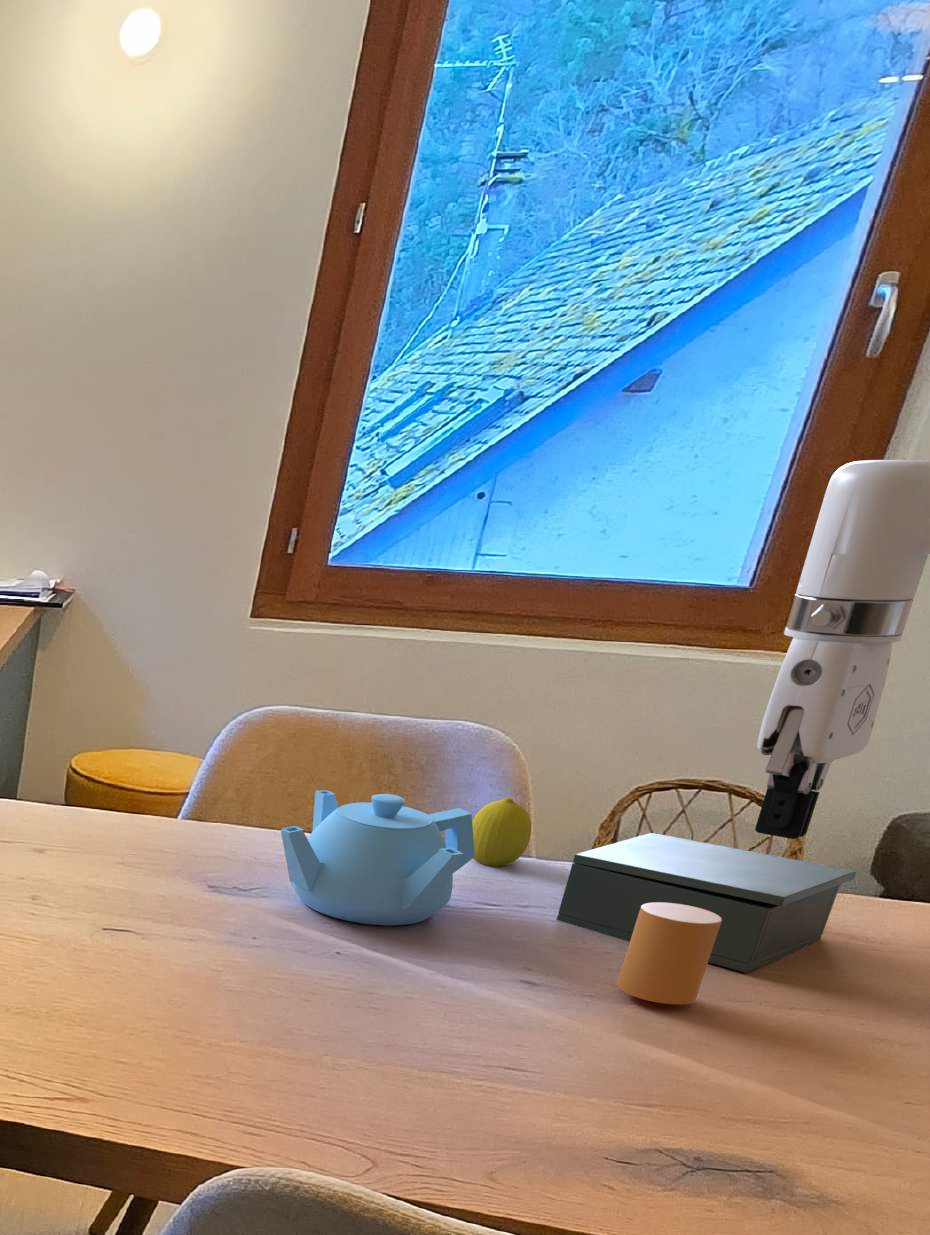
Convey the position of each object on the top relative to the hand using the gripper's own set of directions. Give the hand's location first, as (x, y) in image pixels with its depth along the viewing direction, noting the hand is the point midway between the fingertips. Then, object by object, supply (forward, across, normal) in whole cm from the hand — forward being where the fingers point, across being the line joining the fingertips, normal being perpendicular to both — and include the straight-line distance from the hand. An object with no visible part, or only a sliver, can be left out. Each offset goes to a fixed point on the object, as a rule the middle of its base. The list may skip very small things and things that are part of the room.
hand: (779, 834), depth 124 cm
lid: (+4, 0, +4) cm, 6 cm away
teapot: (+10, -20, +25) cm, 33 cm away
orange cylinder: (+10, -20, -1) cm, 22 cm away
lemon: (+10, +4, +25) cm, 27 cm away
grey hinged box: (+10, 0, +5) cm, 11 cm away
